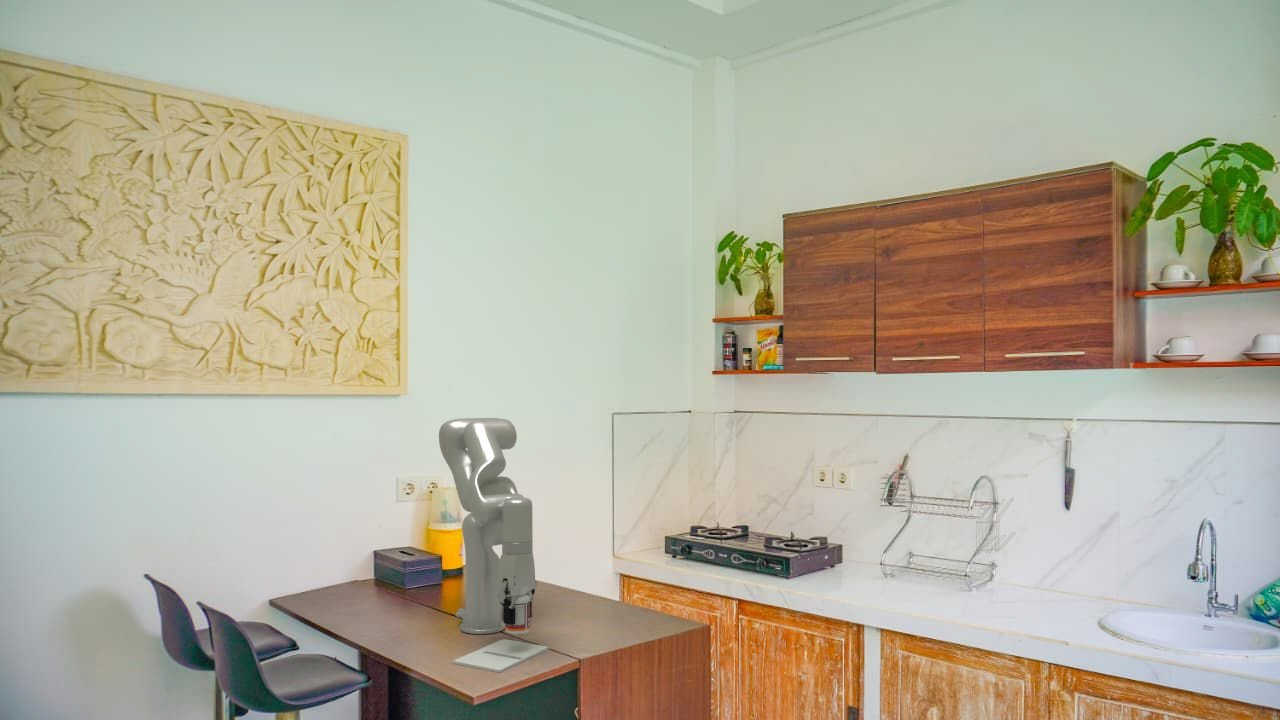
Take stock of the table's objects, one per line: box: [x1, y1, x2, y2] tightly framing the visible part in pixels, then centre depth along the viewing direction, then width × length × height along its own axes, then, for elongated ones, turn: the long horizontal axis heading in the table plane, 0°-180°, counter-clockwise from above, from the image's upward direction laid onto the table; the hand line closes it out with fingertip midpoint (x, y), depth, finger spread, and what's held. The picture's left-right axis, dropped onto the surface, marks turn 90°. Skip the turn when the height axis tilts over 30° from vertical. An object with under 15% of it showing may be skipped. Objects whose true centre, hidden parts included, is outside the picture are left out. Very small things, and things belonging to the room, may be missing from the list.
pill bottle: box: [504, 585, 531, 635], centre depth 226 cm, size 6×6×11 cm
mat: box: [451, 638, 550, 674], centre depth 222 cm, size 14×20×1 cm
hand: (517, 619), depth 226 cm, fingers closed on pill bottle, 6 cm apart
